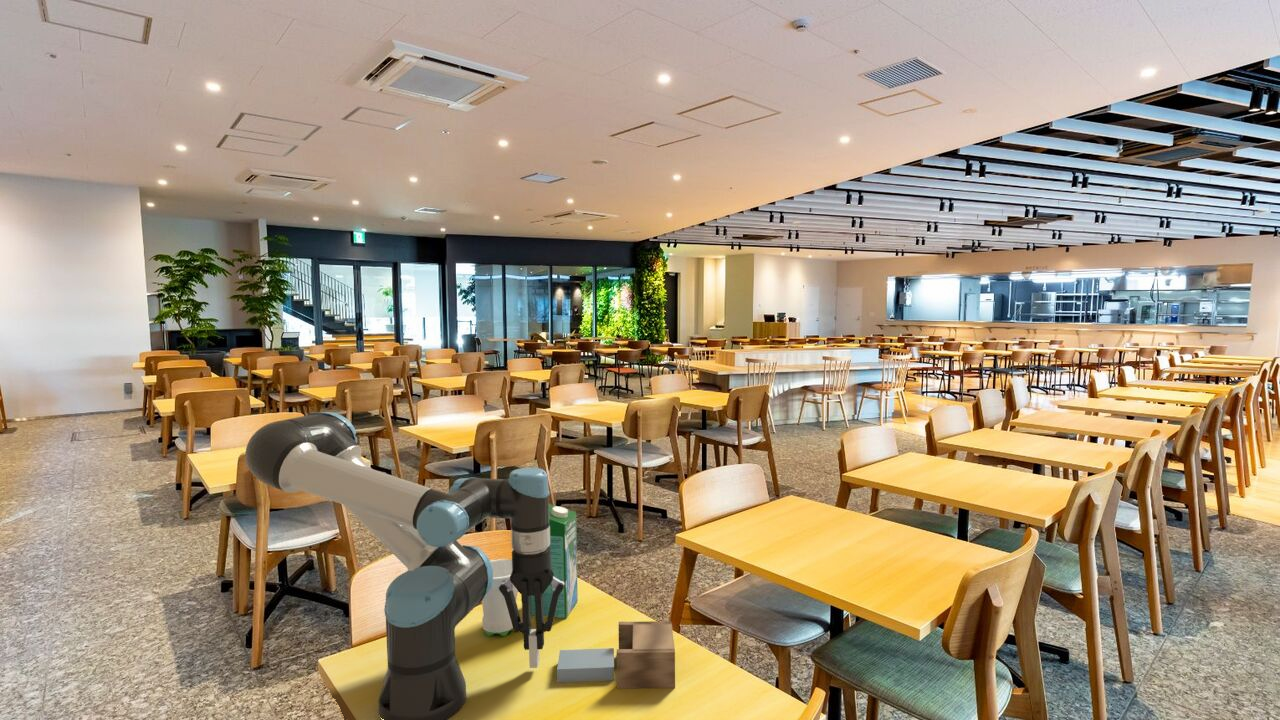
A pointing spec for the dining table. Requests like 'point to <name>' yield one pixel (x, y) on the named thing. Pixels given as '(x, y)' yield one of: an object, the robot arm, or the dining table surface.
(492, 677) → the dining table surface
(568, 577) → the milk carton
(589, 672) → the slab
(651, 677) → the brown notched block
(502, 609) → the cup
